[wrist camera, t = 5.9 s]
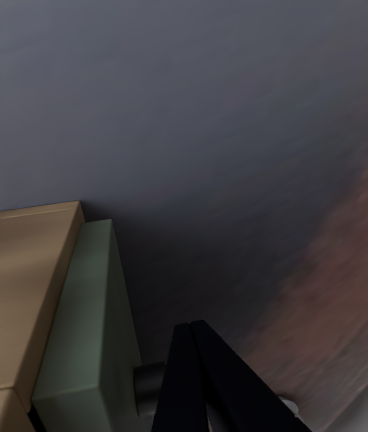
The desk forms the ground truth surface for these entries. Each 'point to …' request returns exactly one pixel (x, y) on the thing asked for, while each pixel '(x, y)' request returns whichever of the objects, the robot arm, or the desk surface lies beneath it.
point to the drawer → (94, 348)
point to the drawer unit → (30, 298)
